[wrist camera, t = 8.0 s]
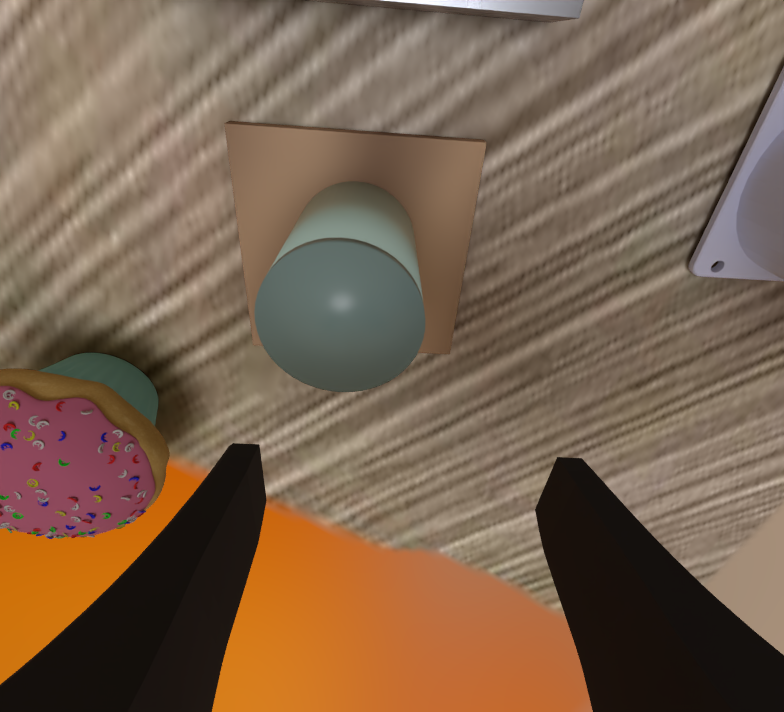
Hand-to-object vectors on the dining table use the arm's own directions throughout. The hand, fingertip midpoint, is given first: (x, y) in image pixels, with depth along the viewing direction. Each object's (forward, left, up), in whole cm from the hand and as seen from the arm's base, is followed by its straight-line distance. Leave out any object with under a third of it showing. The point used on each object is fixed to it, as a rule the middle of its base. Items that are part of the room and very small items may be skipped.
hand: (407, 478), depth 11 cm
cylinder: (+2, -2, -10) cm, 10 cm away
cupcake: (+14, +6, -10) cm, 19 cm away
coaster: (+2, -2, -10) cm, 11 cm away
